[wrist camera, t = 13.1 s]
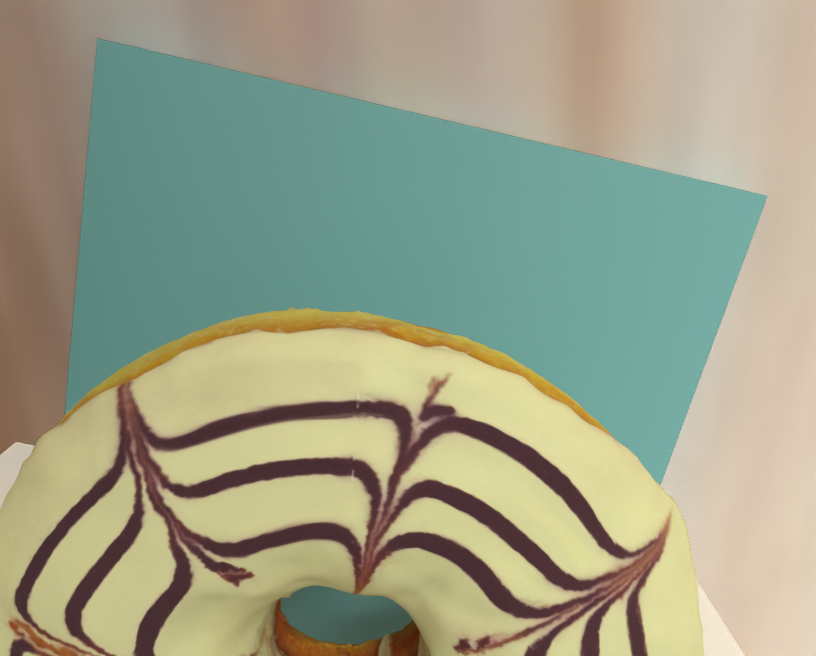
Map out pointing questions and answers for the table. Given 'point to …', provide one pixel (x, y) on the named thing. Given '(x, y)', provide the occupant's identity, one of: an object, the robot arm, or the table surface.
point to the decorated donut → (338, 504)
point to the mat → (393, 249)
